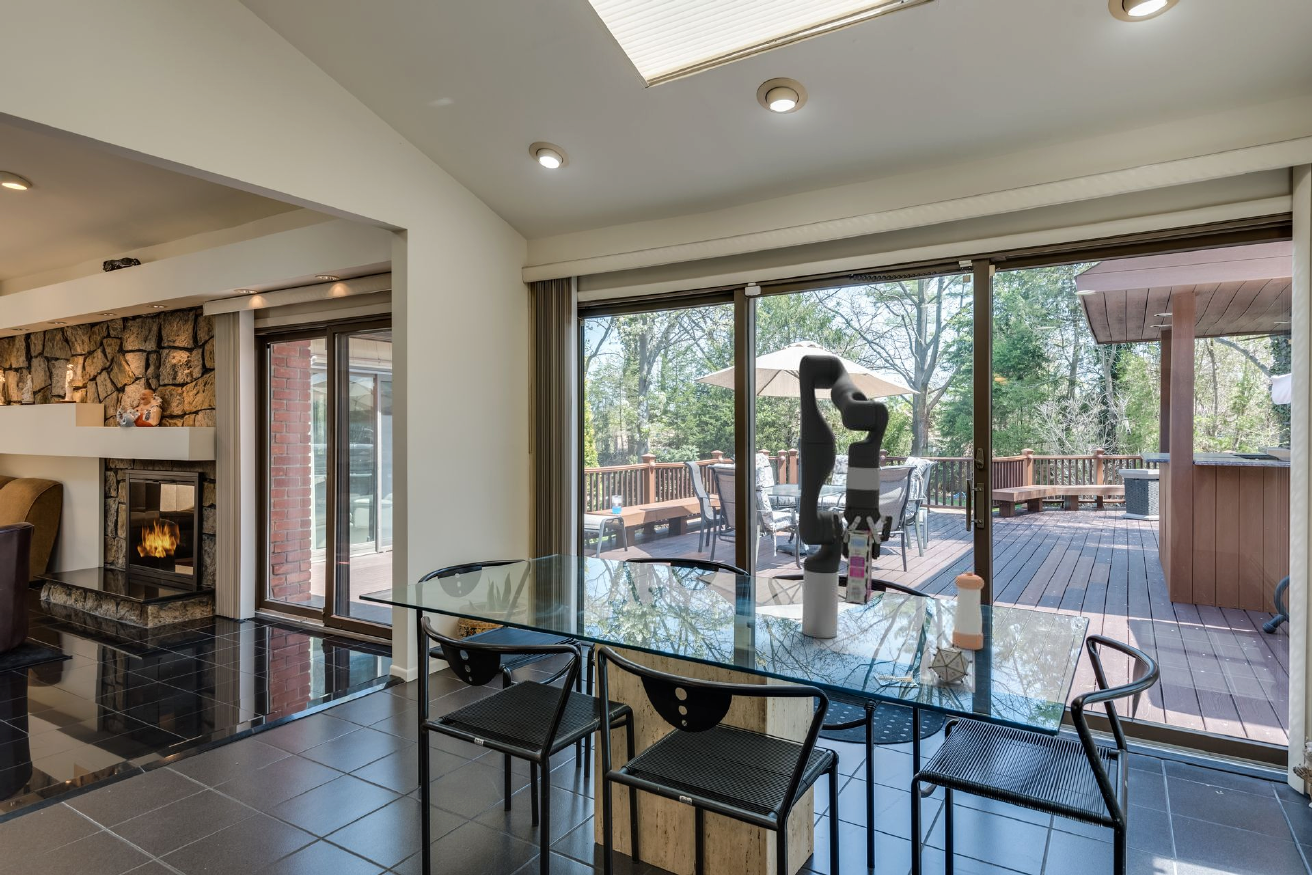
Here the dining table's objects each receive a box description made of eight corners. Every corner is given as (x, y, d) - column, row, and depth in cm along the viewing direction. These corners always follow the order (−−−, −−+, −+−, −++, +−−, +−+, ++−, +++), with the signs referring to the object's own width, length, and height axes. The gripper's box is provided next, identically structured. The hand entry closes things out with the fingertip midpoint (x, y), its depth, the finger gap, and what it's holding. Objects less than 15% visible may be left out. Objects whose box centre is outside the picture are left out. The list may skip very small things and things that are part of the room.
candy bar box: (868, 606, 162) (870, 533, 162) (845, 603, 164) (847, 531, 164) (872, 595, 173) (874, 527, 172) (850, 593, 175) (852, 525, 174)
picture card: (873, 676, 162) (873, 674, 162) (910, 677, 161) (910, 676, 161) (881, 686, 156) (881, 684, 156) (918, 687, 155) (918, 685, 155)
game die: (941, 700, 158) (914, 663, 159) (950, 676, 165) (923, 640, 165) (978, 690, 153) (950, 651, 153) (985, 666, 159) (958, 629, 159)
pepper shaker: (965, 650, 183) (967, 575, 183) (946, 642, 190) (948, 569, 190) (989, 648, 185) (991, 574, 184) (969, 640, 192) (971, 568, 192)
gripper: (889, 486, 171) (887, 556, 172) (828, 484, 172) (826, 554, 172) (898, 489, 164) (896, 562, 164) (834, 487, 164) (832, 560, 165)
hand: (860, 558), depth 168 cm, fingers closed on candy bar box, 6 cm apart
